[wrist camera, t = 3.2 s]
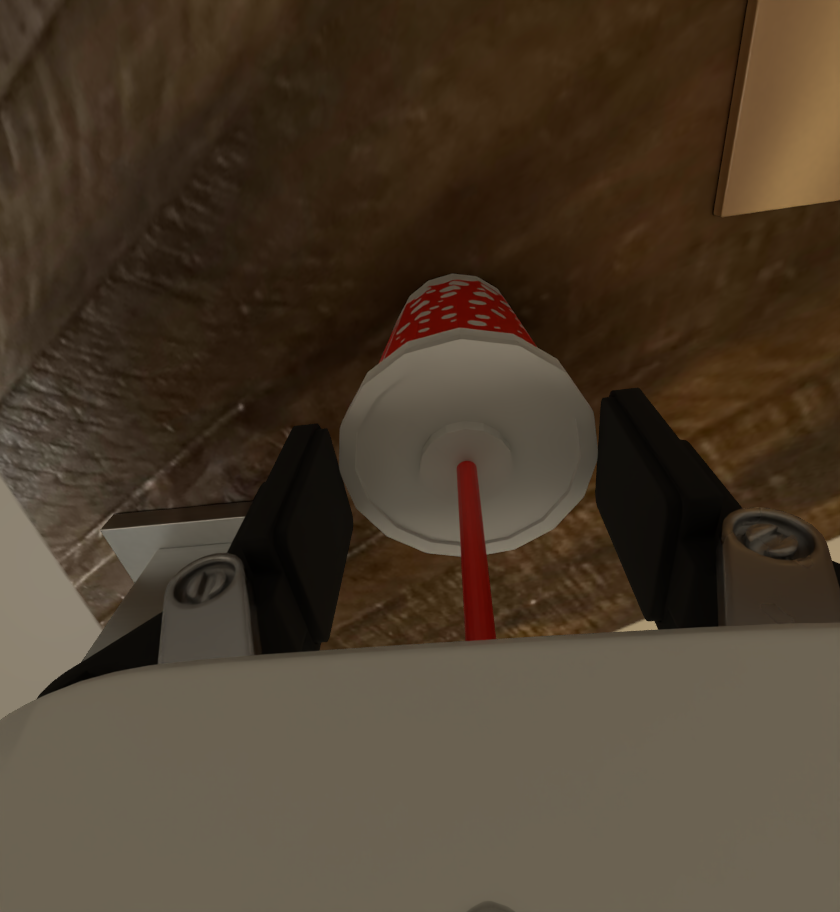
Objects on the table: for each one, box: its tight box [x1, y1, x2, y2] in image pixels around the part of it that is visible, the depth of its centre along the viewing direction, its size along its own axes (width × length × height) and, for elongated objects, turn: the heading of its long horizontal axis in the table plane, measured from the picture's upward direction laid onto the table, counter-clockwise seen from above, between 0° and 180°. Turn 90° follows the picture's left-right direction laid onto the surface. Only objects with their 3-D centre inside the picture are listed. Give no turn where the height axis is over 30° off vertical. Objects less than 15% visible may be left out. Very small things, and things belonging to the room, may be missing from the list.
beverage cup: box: [339, 273, 598, 641], centre depth 13 cm, size 6×6×14 cm
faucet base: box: [82, 501, 253, 661], centre depth 22 cm, size 9×8×12 cm
